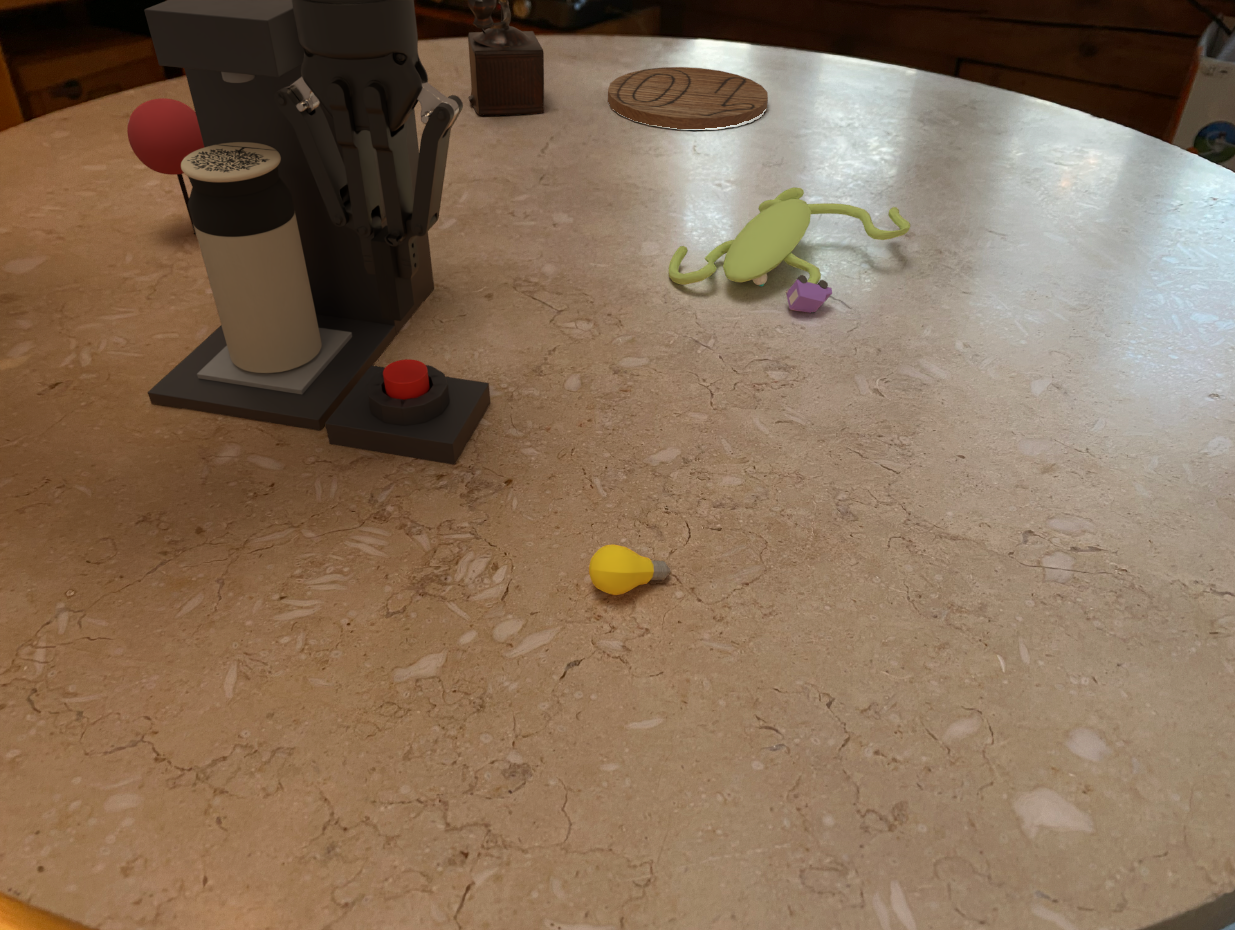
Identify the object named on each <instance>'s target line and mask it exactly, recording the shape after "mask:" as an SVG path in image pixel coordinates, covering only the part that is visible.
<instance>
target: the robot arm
mask: <svg viewBox="0 0 1235 930" xmlns="http://www.w3.org/2000/svg"><path fill="white" fill-rule="evenodd" d="M292 5H293V10H294V16H295V21H296V27H297V32H298V38H299V42H300V44H301V45H302V47H303V49H304V59H303V62H302V65H301V75H302V77H301V78H299V79H298V80H297V81H294V82H292V83H290V84H289V85H287V86H285V87H284V88H282V89H280V90H279V91H277V92H276V93H275V94H274V101H275V103H276V105H277V106H278V107H279V109H280V110H281V111H282V113H283V114H284V115H285V117H286V118H287V119H288V121H289V122H290V123H291V125H292V126H293V128H294V130H295V133H296V135H297V138H298V140H299V143H300V145H301V147H302V150H303V152H304V155H305V157H306V160H307V162H308V165H309V167H310V169H311V172H312V174H313V177H314V179H315V182H316V184H317V187H318V189H319V191H320V194H321V196H322V199H323V201H324V204H325V206H326V209H327V211H328V213H329V216H330V218H331V221H332V222H333V224H335V225H336V226H338V227H343V226H347V227H349V228H351V229H353V230H354V231H356V233H357V234H358V235H359V237H360V242H361V248H362V254H363V260H364V266H365V269H366V271H367V273H368V274H372V275H376V279H377V285H378V292H379V298H380V304H381V311H382V317H383V319H389V320H396V321H401V320H402V319H403V318H404V316H405V315H406V314H407V313H408V311H409V310H410V309H411V308H412V307H413V305H414V299H413V292H412V284H411V278H412V277H413V276H414V274H415V273H416V272H417V271H418V268H419V259H418V251H417V243H416V235H417V236H424V235H425V234H426V233H427V232H428V233H429V230H431V228H433V226H434V225H435V224H436V223H437V222H438V220H439V218H440V210H441V203H442V196H443V189H444V184H445V183H444V182H445V174H446V168H447V160H448V153H449V146H450V139H451V132H452V128H453V127H454V124H455V123H456V121H457V119H458V117H459V116H460V114H461V112H462V111H463V107H464V103H463V100H462V99H461V98H460V97H459V96H458V95H455V94H452V95H449V96H446V95H445V94H443V93H442V92H441V91H440V90H438V89H437V88H436V87H434V86H433V85H432V84H431V83H429V77H428V76H429V75H428V72H427V69H426V68H425V66H424V65H423V63H422V61H421V58H420V56H419V37H418V36H419V35H418V26H417V17H416V10H415V9H416V8H415V0H292ZM319 101H320V103H321V104H322V105H323V106H324V108H325V109H326V110H327V111H328V113H329V114H330V115H331V117H332V118H333V121H334V127H335V133H336V139H337V143H338V144H339V145H341V147H342V153H343V159H344V163H343V161H342V158H341V156H340V153H339V150H338V148H337V145H336V143H335V140H334V137H333V135H332V132H331V130H330V127H329V125H328V122H327V119H326V117H325V115H324V113H323V111H322V109H321V107H320V106H319ZM418 102H419V104H420V108H421V110H420V121H421V123H422V124H424V128H423V129H422V130H423V131H422V133H421V137H420V142H419V143H420V144H419V159H418V168H417V176H416V185H415V193H414V196H413V188H412V180H411V172H410V164H409V156H408V148H407V135H408V124H407V120H408V118H409V116H410V114H411V113H412V111H413V109H414V110H415V108H416V106H417V104H418ZM374 149H376V152H377V159H378V165H379V172H380V179H381V186H382V193H383V199H384V206H385V213H386V215H385V213H383V207H382V200H381V193H380V186H379V180H378V173H377V166H376V159H375V152H374ZM344 165H345V166H344ZM384 215H385V216H384ZM385 220H387V226H385V227H384V228H383V229H382V223H383V222H384V221H385Z"/></svg>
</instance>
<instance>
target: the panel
mask: <svg viewBox="0 0 1235 930" xmlns="http://www.w3.org/2000/svg"><path fill="white" fill-rule="evenodd" d="M425 365H426V367H427V370H428V378H429V390H428V392H427V393H425V394H423V395H421V396H419V397H417V398H411V399H404V400H403V399H397V398H391V397H389V396H388V395H387V393H386V390H385V384H384V377H383V371H384V369H385V367H386V366H378V365H373V366H372V365H371V366H370V368H369V369H368V370H367V371H366V373H365V374H364V375H363V376H362V378H361V379H360V380H359V381H358V383H357V384H356V385H355V386H354V388H353V389H352V390H351V391H350V393H349V394H348V395H347V396H346V398H345V399H344V400H343V401H342V403H341V404H340V405H339V406H338V408H337V409H336V410H335V412H334V413H333V414H332V415H331V417H330V418H329V419H328V420H327V422H326V423H325V430H326V434H327V439H328V444H329V445H332V446H339V447H344V448H351V449H357V450H362V451H369V452H375V453H381V454H386V455H392V456H393V455H394V456H400V457H405V458H411V459H412V458H413V459H417V460H424V461H429V462H436V463H443V464H446V465H447V464H448V465H453V466H455V465H456V463H457V462H458V460H459V458H460V457H461V455H462V454H463V451H464V450H465V448H466V446H467V445H468V443H469V442H470V440H471V438H472V436H473V435H474V433H475V431H476V429H477V427H478V425H479V424H480V422H481V420H482V419H483V417H484V416H485V413H486V412H487V410H488V408H489V407H490V406H491V394H490V392H491V391H490V382H485V381H479V380H473V379H472V380H471V379H466V378H458V377H451V376H446V374H445V373H444V372H442V371H441V370H439V369H438V368H436V367H434V366H433V365H429V364H425Z"/></svg>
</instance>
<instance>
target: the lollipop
mask: <svg viewBox="0 0 1235 930" xmlns="http://www.w3.org/2000/svg"><path fill="white" fill-rule="evenodd" d="M126 131H127V139H128V143H129V146H130V148H131V150H132V152H133V153H134V155H135V156H136V158H137V159H138V160H139V162H141V163H142V164H143V165H144V166H145V167H147V168H148V169H150V170H151V171H154V172H156V173H158V174H163V175H169V176H173V175H176V176H177V180H178V183H179V187H180V190H181V193H182V196H183V201H184V203H185V206H186V210H187V213H188V217H189V220H190V224H191V226H192V229H193V235H195V236H196V232H195V228H194V225H193V221H192V218H191V214H190V210H189V207H188V201H189V197H190V195H189V192H188V190H187V185H186V183H185V180H184V176H183V174H185V173H184V172H183V171H182V169H181V162H182V160H183V159H184V158H185V157H186V156H187V155H189V154H190V153H192V152H194V151H196V150H199V149H202V148H204V144H203V140H202V136H201V132H200V128H199V124H198V120H197V116H196V113H195V109H194V108H192V107H190V106H189V105H188V104H185V103H184V102H183V101H179V100H177V99H173V98H164V97H160V98H153V99H149V100H147V101H145V102H142V103H141V104H139V105H138V106H137V107H136V108H135V109H134V110H133V111H132V112H131V114H130V116H129V118H128V122H127V129H126Z"/></svg>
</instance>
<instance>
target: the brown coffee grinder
mask: <svg viewBox="0 0 1235 930" xmlns="http://www.w3.org/2000/svg"><path fill="white" fill-rule="evenodd" d="M466 3H467V6H468V8H469V9H470V11H471V12H472V14H473V15H474V18H473V19H474V20H473V21H472V24H473V26H475V27H476V29H481V31H475V32H473V31H471V32H468V35H467V40H468V41H467V43H468V54H469V55H468V57H469V59H468V60H469V72H470V85H471V86H470V87H471V88H470V89H471V91H470V95H469V96H468V102H469V103H470V104H471V106H472V107H473V109H474V112H475V113H476V114H478V115H479V116H483V115H485V116H486V117H487V116H488V117H495V116H494V115H498V116H497V117H501V116H500V115H506V116H516V115H515V114H529V115H538V114H537V113H540V114H544V112H545V107H544V106H545V105H544V103H545V55H544V54H545V52H544V49H543V47H542V45H541V44H540V42H539V39H538V38H537V37H536V34H535V32H534V31H533V30H530V31H529V30H520V29H518V28H517V27H514V26H510V23H511V21H512V15H511V14H512V13H511V9H510V5H509V4H510V2H509V0H498V4H499V5H500V21H498V22H494V20H493V18H492V13H493V12H494V10H495V8H496V7H497V0H467V2H466ZM485 116H484V117H485Z"/></svg>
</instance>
